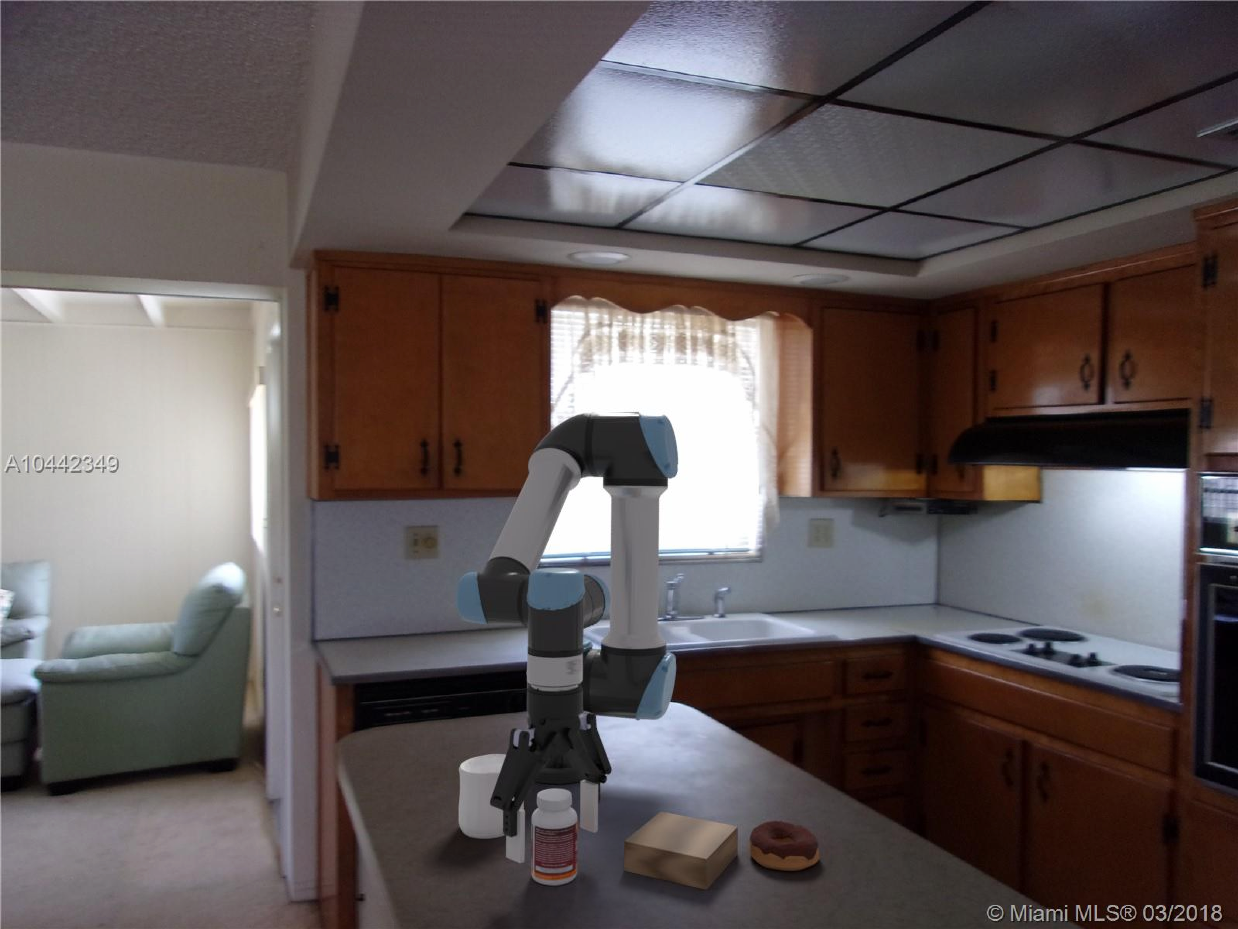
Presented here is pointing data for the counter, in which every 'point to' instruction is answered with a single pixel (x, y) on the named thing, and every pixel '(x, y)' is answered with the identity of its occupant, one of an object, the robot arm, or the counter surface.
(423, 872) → the counter surface
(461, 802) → the cup
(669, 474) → the robot arm
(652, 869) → the tan flat block
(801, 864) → the donut
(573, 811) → the pill bottle
